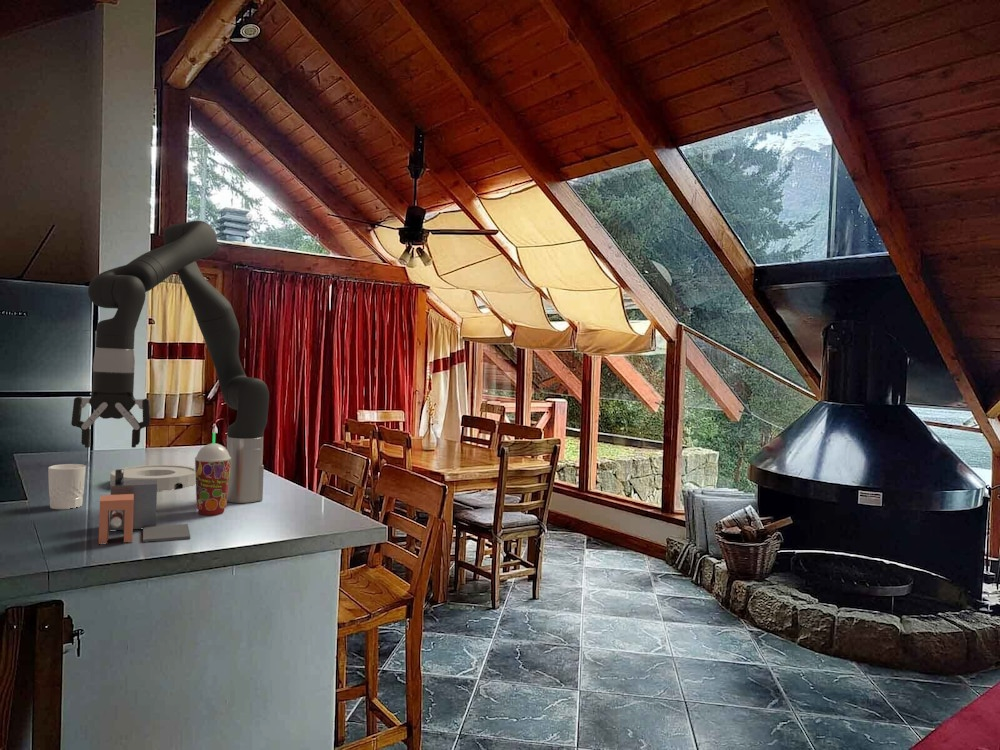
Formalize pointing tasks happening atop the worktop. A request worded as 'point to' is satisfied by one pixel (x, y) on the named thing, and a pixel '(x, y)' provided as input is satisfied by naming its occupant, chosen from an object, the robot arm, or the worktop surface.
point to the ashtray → (160, 475)
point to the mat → (166, 532)
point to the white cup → (66, 485)
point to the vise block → (135, 501)
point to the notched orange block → (116, 503)
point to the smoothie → (212, 478)
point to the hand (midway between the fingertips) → (110, 447)
